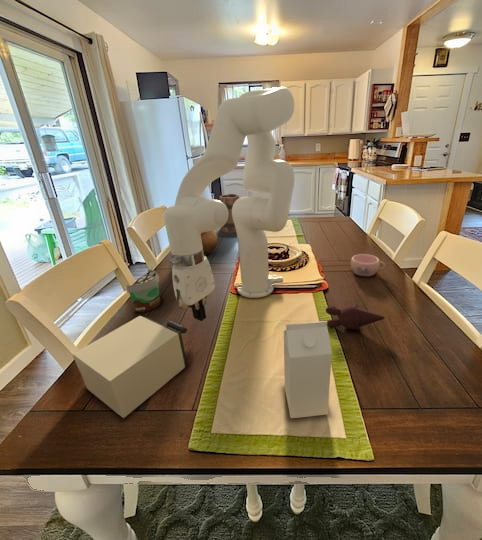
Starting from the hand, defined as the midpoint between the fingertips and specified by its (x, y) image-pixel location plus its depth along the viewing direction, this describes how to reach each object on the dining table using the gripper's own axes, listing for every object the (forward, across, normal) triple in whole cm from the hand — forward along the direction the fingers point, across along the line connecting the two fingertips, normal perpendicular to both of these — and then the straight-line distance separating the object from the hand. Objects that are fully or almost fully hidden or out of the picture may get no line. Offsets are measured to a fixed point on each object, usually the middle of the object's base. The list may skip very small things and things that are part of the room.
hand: (200, 318), depth 78 cm
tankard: (+6, +74, +46) cm, 87 cm away
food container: (+4, +1, +23) cm, 24 cm away
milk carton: (+4, -6, -35) cm, 36 cm away
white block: (+3, -20, 0) cm, 21 cm away
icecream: (+5, +22, -35) cm, 42 cm away
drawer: (+3, -17, 0) cm, 17 cm away
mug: (+5, +56, -29) cm, 64 cm away
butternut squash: (+5, +42, +40) cm, 58 cm away
